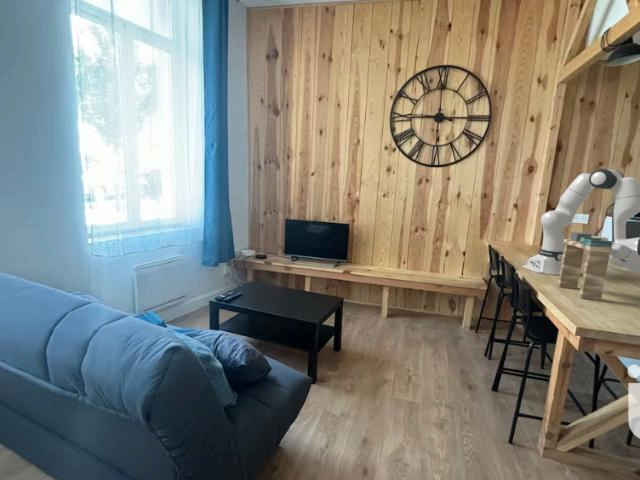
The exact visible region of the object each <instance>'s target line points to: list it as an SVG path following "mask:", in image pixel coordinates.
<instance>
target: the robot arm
mask: <svg viewBox="0 0 640 480" xmlns="http://www.w3.org/2000/svg"><path fill="white" fill-rule="evenodd" d="M595 189H598V190H599V189H600V190H603V191H605V190H608V191H609V190H611V191H613V193H614V197H615V209H614V212H613V213H612V215H611V216H612V218H611V234H612V235H611V237H612V238H611V241H612V252H610V255H609V259H612V260H613V261H614V262H615V263H618V264H620V265H621V266H622V267H623V268H625V269H627V270H628V271H630V272H632V273H634V274H640V236H639V237H633V238H627V236H626V235H627V230H626V229H627V228H626V225H627V223H628V221H629V220H631V218H632V217H634V216H635V215H638V214H639V213H640V182H639V180H638V179H637V178H636V177H633V176H626V177H624V174H622V172H620V171H618V170H615V169H612V168H610V169H609V168H608V169H607V168H599V169H597V170H594V171H592V173H588V172H585V173H583V172H582V173H580V174H579V175H577V177H575V179H573V181H572V182H571V183H570V184H569V185H568V186H567V188H566V189H565V191H564V192H563V194H562V195H561V196H560V198H559V202H558V204H557V206H556V208H555V210H548V211H546V212H544V213H543V214H542V216H541V217H540V223H541V225H542V231H543V234H542V235H543V237H542V245H541V248H539V249H538V248H537V252H538V253H537V254H535V255H534V256H531V257H529V258H528V260H527V263H526V264H523V265H522V268H525V269H527V270H529V271H532V272H535V273H537V274H545V275H546V274H547V275H554V276H555V275H556V276H559V275H560V269H561V263H562V256H563V250H564V244H565V243H564V239H566V238H565V236H564V228H566V227H568V226H570V225H571V224H572V222H573V220H574V218H575V216H576V214H577V212H578V210H579V209H580V206H582V204H583V203H584V202H585V201H586V199H587V198H588V197H589V195H590V194H591V193H592V191H594V190H595ZM601 241H607V240H605V239H603V238H601Z"/></svg>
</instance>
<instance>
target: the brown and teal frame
mask: <svg viewBox="0 0 640 480" xmlns="http://www.w3.org/2000/svg"><path fill="white" fill-rule="evenodd" d="M585 250H586V256H585V262H584V269H583V273H582V278H581V279H582V280H581V284H580V289H579V294H578V299H581V300H593V301H602V297H603V291H604V287H605V280H606V276H607V270H608V265H609V260H610V257H609V255H610V252H612V240H608V241H601V238H583V237H580V242H578V241H573V240H570V238H567V239H566V238H565V239H564V246H563V256H562V261H561V269H560V275H558V282H557V287H558V288H561V289H562V288H563V289H576V290H577V289H578V286H579V280H580V275H581V269H582V264H583V258H584V252H585Z"/></svg>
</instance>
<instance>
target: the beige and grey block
mask: <svg viewBox="0 0 640 480" xmlns="http://www.w3.org/2000/svg"><path fill="white" fill-rule="evenodd" d="M580 237H583V238H603V239H605V240H607V241H609V237H606V236H595V235H592V233H588V232H577V231H573V232H570V237H569V239H570V240H573V241H578V242H580Z"/></svg>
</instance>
